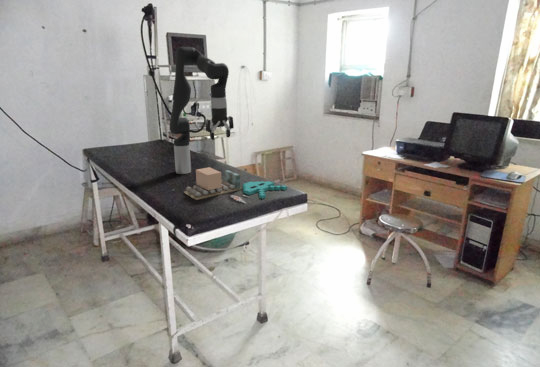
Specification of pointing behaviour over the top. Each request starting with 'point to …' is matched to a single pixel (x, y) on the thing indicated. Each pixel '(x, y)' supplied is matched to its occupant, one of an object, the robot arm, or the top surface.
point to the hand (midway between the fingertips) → (220, 138)
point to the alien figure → (261, 188)
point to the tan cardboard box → (208, 178)
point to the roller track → (227, 186)
